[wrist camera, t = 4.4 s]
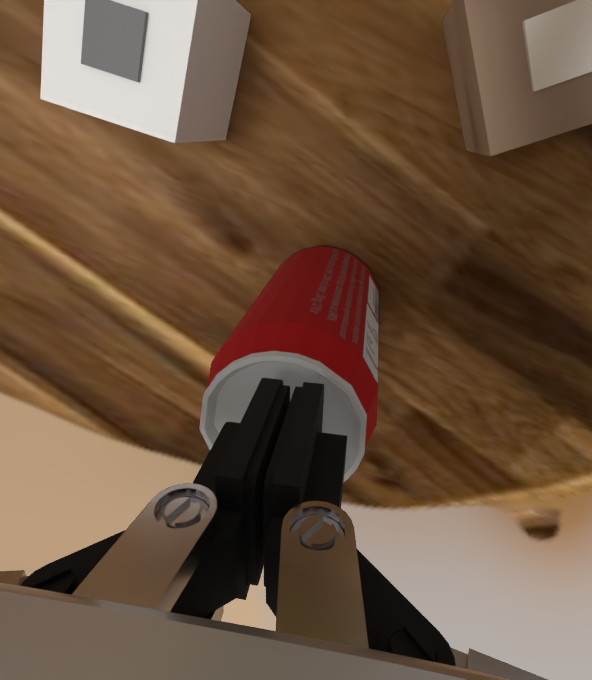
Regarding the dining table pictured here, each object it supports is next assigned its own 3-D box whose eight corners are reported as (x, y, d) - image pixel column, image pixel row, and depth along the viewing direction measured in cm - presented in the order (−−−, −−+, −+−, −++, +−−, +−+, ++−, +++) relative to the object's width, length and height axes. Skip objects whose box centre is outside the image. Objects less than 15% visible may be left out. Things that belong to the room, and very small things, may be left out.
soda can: (253, 271, 24) (149, 388, 13) (351, 225, 22) (324, 316, 11) (301, 360, 26) (243, 530, 15) (396, 324, 24) (409, 487, 13)
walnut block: (579, -35, 17) (655, -97, 13) (593, 108, 19) (663, 101, 14) (441, 21, 19) (462, -16, 14) (465, 150, 20) (491, 156, 16)
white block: (251, 14, 19) (200, -32, 14) (225, 140, 22) (172, 143, 16) (138, -22, 20) (43, -82, 14) (124, 106, 22) (36, 98, 16)
